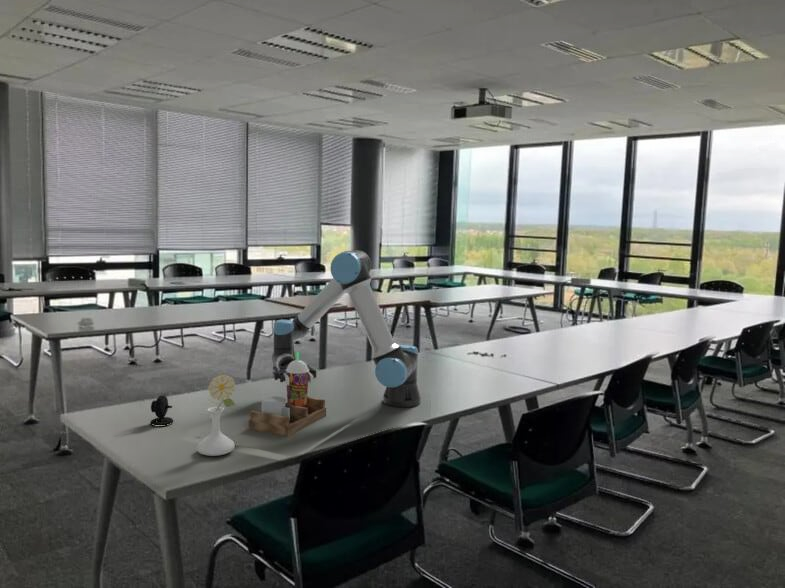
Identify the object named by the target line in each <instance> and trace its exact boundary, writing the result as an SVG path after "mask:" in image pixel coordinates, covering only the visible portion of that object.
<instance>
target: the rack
mask: <svg viewBox="0 0 785 588" xmlns="http://www.w3.org/2000/svg"><path fill="white" fill-rule="evenodd" d="M285 407H287V408H290V421H289V417H286V416H280V415H275V414H269V413H264V412H262V411H258V410H252V409H251V410H250V412H249V413H250V415H249V419H248V429H249V430H253V431H254V430H255V431H261V432H265V433H270V434H274V435H275V434H276V435H280V436H286V437H290V436H292V435H294V434H295V433H297V432H299V431H301V430H303V429H304V428H307V427H309V426H310V425H312V424H314V423H316V422H317V421H320V420H321V419H324V418H325V417H326V416H327V407H326V399H324V398H317V397H311V396H307V404H306V405H305V407H299V406H294V405H288V404H287V402H285Z"/></svg>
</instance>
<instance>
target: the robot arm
mask: <svg viewBox="0 0 785 588" xmlns="http://www.w3.org/2000/svg"><path fill="white" fill-rule="evenodd" d="M331 260H332V261H331V262H330V274H331V276H332V279H331V280H330V281H329V282H328V283H327V285H325V286H324V287H323V288H322V289H321V291H319V293H317V295H316V296H314V297H313V299H312V300H311V301H310V302H308V304H307V305H306V306H305V307H304V308H303V309H302V310H301V311H300V313H298V314H297V316H296V317H295V318H294V319H292V320H291V319H278V320H275V321H274V322H273V323H274V325H273V352H272V354H271V359H272V360H271V361H272V364H273V365H274V366H273V367H272V374H273V375H274V380H275V381H278V380H279V382H280V383H285V385H286V386H287V385H289V377H288V375H287V374H286V369H287V367H288V365H289V363H290V362H292V361H294V360H297V358H295V357H294V355H293V354H294V352H293V351H294V341H296V340H299V339H302V338H304V337H305V336H307V335H308V333H309V332H310V330H311V328H313V326H315V324H316V323H317V322H319V320H320V319H322V317H323V316H324V315H325V314H326V313H327V312H328V311H329V310H330V309H331V308H332V307H333V306H334V305H335V304H336V303H337V302H338V301H340V299H342V297H343V296H344V295H345V294H348V295H349V297H350V300H351V302H352V304H353V306H354V309H355V312H356V314H357V316H358V319H359V321H360V323H361V325H362V327H363V330H364V332H365V334H366V337H367V339H368V341H369V344H370V347H371V348H372V350H373V354H372V356H371V357H372V358H371V359H372V361H373V363H374V365H375V368H374V374H375V378H376V379H377V381H378V383H379V384H381V385H382V386H384V387H385V390H384V393H383V395H382V401H383V403H384V404H385V405H388V406H392V407H398V408H411V407H416V406H419V405H420V404H421V402H422V401H421V398H422V397H421V393H420V389H419V387H418V364H419V363H418V362H419V361H418V360H419V351H418V348H417V346H414V345H406V344H398V343H396V342H395V339H394V338H393V335H392V334H391V331H390V328H389V326H388V324H387V321H386V319H385V318H384V314H383V312H382V310H381V308H380V305H379V304H378V301H377V298H376V296H375V294H374V292H373V290H372V288H371V282H372V277H371V275H370V272H371V269H372V261H371V258H370V257H369V254H367V253H366V252H365V251H363V250H359V249H353V250H344V251H342V252H340V253H338V254H336V255H335V256H334V257H333V258H332V259H331ZM306 365H307V366H308V369H309V379H308V383H310V385H311V384H312V385H313V384H314V380H315V379H316V378H317V370H316V369H315V368H312V367H311V366H310V365H309V364H306Z"/></svg>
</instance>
